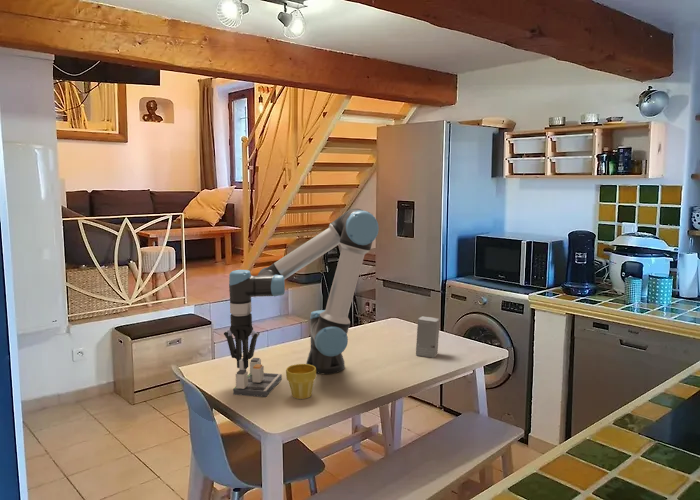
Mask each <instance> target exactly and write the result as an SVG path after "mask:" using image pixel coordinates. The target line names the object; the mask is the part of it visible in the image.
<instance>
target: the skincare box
mask: <svg viewBox="0 0 700 500" xmlns="http://www.w3.org/2000/svg"><path fill="white" fill-rule="evenodd" d="M440 321H441V319H440V318H437V317H432V316H423V315H422V316H420V317H418V318H417V330H416V342H415V343H416V346H415V356H417V357H426V358H433V359H435V358H436V356H437V355H438V353H439V351H438V350H439V336H440V333H439V332H440Z"/></svg>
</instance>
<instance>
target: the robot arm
mask: <svg viewBox="0 0 700 500" xmlns="http://www.w3.org/2000/svg"><path fill="white" fill-rule="evenodd" d="M379 229H380V228H379V223H378V220H377V219H376V217H375V216H374V215H373V213H371V212H369V211H367V210H363V209H362V208H352V209H349V210H347V211H345V212H344V213H342V215H340V216H339V217H338V218H336V219H335V220H334V221H332V222H331V223H329V226H328V228H326V229H324V230H323V231H321V232H319V233H318V234H317V235H315V236H314V237H312V238H311V239H309V240H308V241H306V242H304V243H303V244H301V245H299V246H298V247H297V248H295V249H293V250H292V251H291V252H289V253H287V254H286V255H284V256H283V257H281V258H280V259H279V260H277V261H275V262H274V263H272V264H271V265H269V266H267V267H264V268H262V269H261V270H260V271H259V272H258V274H257V275H252V274H251V271H250V270H249V269H237V270H232V271H230V273H229V275H228V276H229V277H228V279H229V280H228V286H229V287H228V288H229V313H230V315H229V316H230V317H229V319H230V327H229V330H228V329H227V330H226V331H224V332H223V335H224V336H225V338H226V341H227V345H228V349H229V353H230V356H231V358H232V359H236V368H237V369H239V370H246V371H247V369H248V368H249V360H250V359H253V358H254V354H255V350H256V344H257V339H258V337H259V336H260V332H258V331H257V332H256V330H254V326H253V315H252V311H253V310H252V297H253V298H257V297H279V296H280V297H281V296H283V295H285V293H286V292H285V289H286V288H285V287H286V286H285V285H286V284H285V280H286V279H288V278H289V277H291V276H292V275H294V274H295V273H297V272H299V271H300V270H302V269H303V268H305V267H307V266H308V265H310V264H311V263H313V262H314V261H316V260H317V259H319V258H320V257H322V256H323V255H325V254H326V253H327V252H330V251H331V250H332V249H334V248H336V247H337V246H339V245H340V247H341V250H340V255H339V258H338V262H337V264H336V265H337V266H336V269H335V271H334V272H335V273H334V277H333V280H332V283H331V284H332V285H331V287H330V291H329V294H328V297H327V302H326V306H325V309H321V310H313V311H311V312H310V317H309V321H310V323H309V327H310V329H309V330H310V350H309V353H308V357H307V360H306V363H305V364H309V365H313V366H315V367H316V374H319V375H330V374H337V373H339V372H341V371H343V370H344V369H345V359H344V356H343V352H345V350H346V348H347V346H348V340H349V339H348V338H349V337H348V332H349V328H350V324H351V321H350V318H349V313H350V308H351V306H352V301H353V298H354V294H355V291H356V287H357V283H358V280H359V276H360V273H361V270H362V265H363V262H364V258H365V255H366V254H368V253H369V252H370V251H371V250H372V249H371V248H372V245H373V243H374V241H375V240H376V238H377V236H378V234H379ZM250 335H251V340H250V345H249V338H250ZM239 370H238V371H239Z"/></svg>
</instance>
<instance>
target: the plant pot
mask: <svg viewBox="0 0 700 500" xmlns="http://www.w3.org/2000/svg"><path fill="white" fill-rule="evenodd" d="M285 377H286V381H288V384H289V389H290V392H291V396H292V397H293V399H296V400H305V399H309V398H311V396H312V392H313V388H314V382H315V379H316V378H317V373H316V367H315V366H313V365H309V364H306V363H298V364H292V365H290V366H288V367H286V369H285Z"/></svg>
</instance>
